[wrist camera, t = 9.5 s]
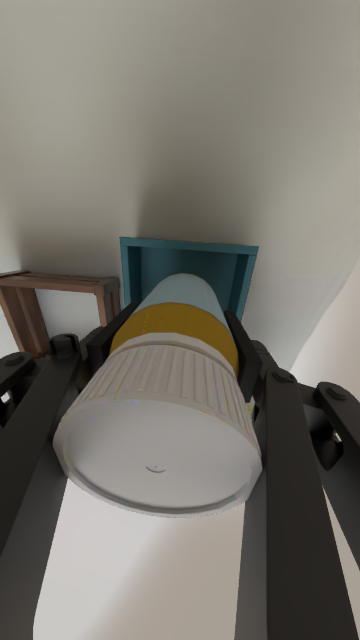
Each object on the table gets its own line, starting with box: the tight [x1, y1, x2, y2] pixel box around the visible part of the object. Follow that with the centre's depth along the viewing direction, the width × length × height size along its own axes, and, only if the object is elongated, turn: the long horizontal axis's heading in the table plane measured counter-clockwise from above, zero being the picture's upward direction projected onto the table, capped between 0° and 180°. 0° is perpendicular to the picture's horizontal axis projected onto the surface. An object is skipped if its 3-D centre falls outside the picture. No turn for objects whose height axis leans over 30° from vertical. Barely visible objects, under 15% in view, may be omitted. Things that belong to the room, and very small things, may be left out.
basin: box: [119, 237, 259, 323], centre depth 20 cm, size 12×12×4 cm
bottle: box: [53, 273, 263, 518], centre depth 12 cm, size 7×7×15 cm
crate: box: [0, 270, 120, 359], centre depth 23 cm, size 13×13×4 cm
